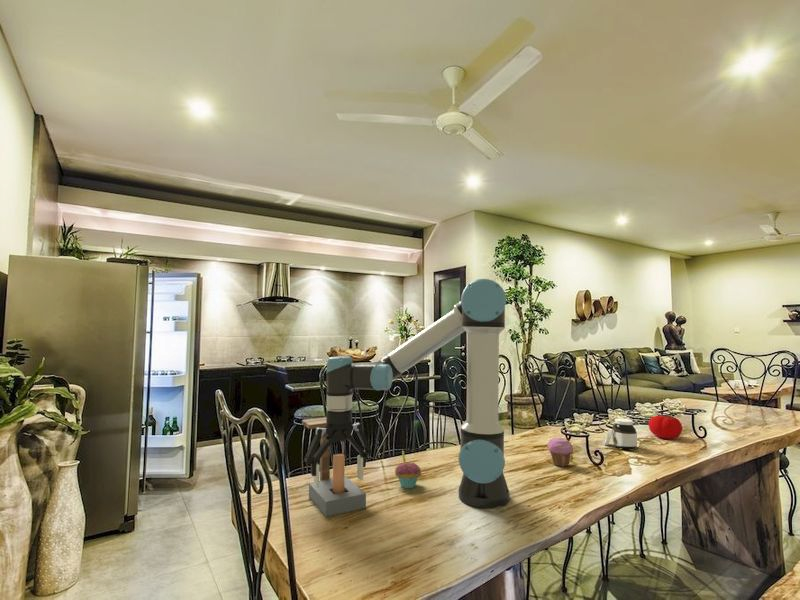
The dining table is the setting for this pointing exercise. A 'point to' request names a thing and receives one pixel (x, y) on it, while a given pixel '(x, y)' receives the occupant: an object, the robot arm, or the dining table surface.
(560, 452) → the cupcake
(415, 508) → the dining table surface
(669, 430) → the tomato
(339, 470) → the peg
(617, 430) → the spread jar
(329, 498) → the socket block
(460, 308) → the robot arm
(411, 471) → the cupcake
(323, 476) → the wooden t-shaped stand
